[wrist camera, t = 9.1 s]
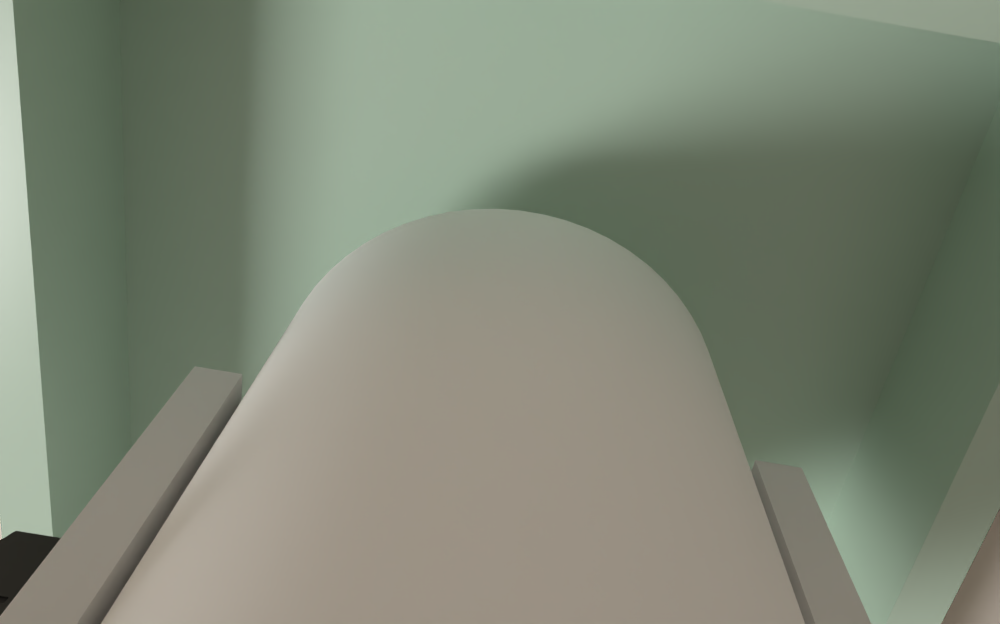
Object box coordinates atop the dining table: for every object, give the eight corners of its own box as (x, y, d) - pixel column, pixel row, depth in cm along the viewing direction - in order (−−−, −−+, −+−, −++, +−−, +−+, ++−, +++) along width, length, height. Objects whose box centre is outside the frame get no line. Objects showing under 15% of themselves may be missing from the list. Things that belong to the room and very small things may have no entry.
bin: (73, -198, 15) (-80, -233, 11) (1087, -16, 15) (1254, 7, 12) (106, 590, 23) (21, 720, 19) (783, 700, 23) (827, 848, 19)
